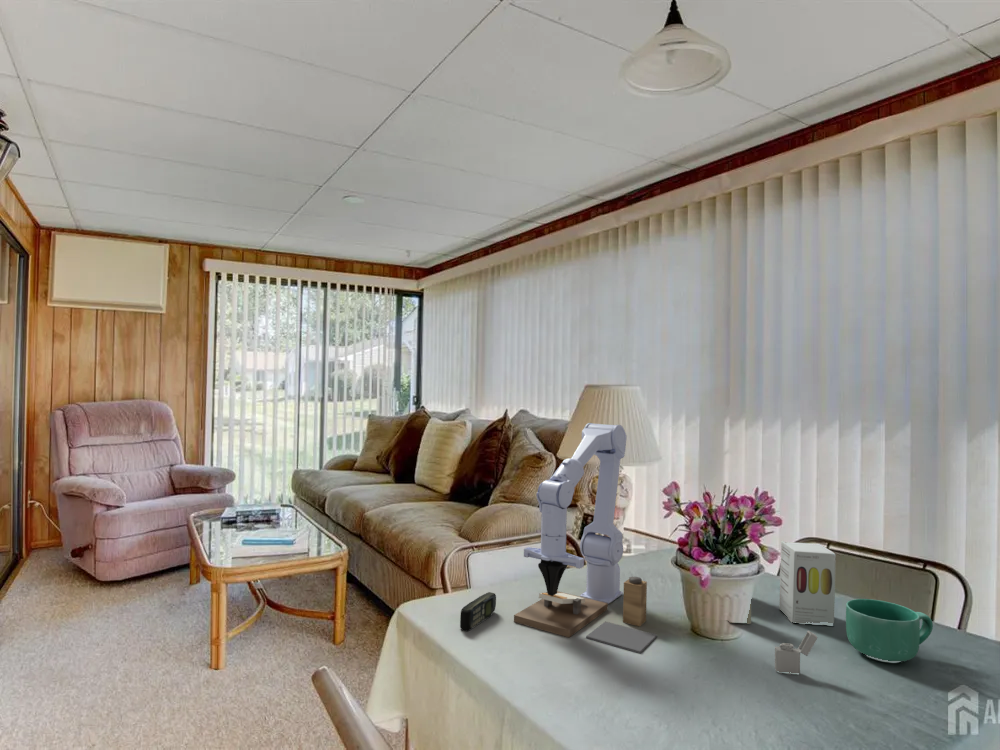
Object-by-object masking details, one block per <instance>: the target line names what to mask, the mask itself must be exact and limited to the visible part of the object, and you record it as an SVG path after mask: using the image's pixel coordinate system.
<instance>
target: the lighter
mask: <svg viewBox="0 0 1000 750" xmlns="http://www.w3.org/2000/svg"><path fill="white" fill-rule="evenodd" d="M817 639H818V636H817V635H816V634H815V633H813V632H812V631H810V630H807V632H806V634H805V635H804V637H803V638H802V640H801V642H800V644H799V646H798V648H794V644H793V643H785V642H782V643H780V644H779V646H774V670H775V669H776V671H779V672H789V673H790V672H791V673H800V674H801V654H802V655H804V656H806V657H808V656H809V654H810V652H811V651H812V649H813V647H814V645H815V644H816V642H817ZM776 671H775V672H776Z"/></svg>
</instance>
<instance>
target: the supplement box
mask: <svg viewBox="0 0 1000 750" xmlns="http://www.w3.org/2000/svg"><path fill="white" fill-rule="evenodd" d="M836 556H837V555H836V553H834V551H832V550H830V549H829V548H827V547H825V546H824V545H822V544H821V543H808V542H791V541H781V542H780V569H779V570H780V574H779V601H778V602H779V605H778V607H779V608H778V609H779V611H780V610H781V611H782V612H783V613H784V614H785V615H786V616H787V617H788V618H787V617H786V616H785V615H784V614H783V613H782V612H781V611H780V612H781V613H782V614H783V615H784V616H785V617H786V618H787V619H788V620H789V622H790V623H792V622H794V623H795V622H796V623H806V622H807V623H808V622H810V623H812V622H813V623H820V622H828V623H834V624H835V603H836V602H835V600H836V599H835V598H836V597H835V595H836V594H835V593H836V563H837V561H836V560H837V559H836V558H837V557H836Z"/></svg>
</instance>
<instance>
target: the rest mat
mask: <svg viewBox="0 0 1000 750" xmlns="http://www.w3.org/2000/svg"><path fill="white" fill-rule="evenodd" d="M657 637H658V634H656V633H652V632H648V631H644V630H640V629H636V628H632V627H628V626H625V625H620V624H617V623H613V622H610V621H604V622H603V623H601V624H600V625H599V626H598V627H596V628H595V629H593V630H592V631H591V632H590V633H588V634H587V635H586V636H585V638H586V639H588V640H590V641H594V642H598V643H599V642H600V643H601V644H605V645H610V646H612V647H616V648H620V649H623V650H627V651H631V652H634V653H638V654H641V653H642V652H643V651H644V650H646V648H647V647H648V646H649V645H650V644H651V643H652V642H653V641H654V640H655V639H656V638H657Z"/></svg>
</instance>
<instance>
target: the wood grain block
mask: <svg viewBox="0 0 1000 750" xmlns="http://www.w3.org/2000/svg"><path fill="white" fill-rule="evenodd" d="M647 587H648V582H647V581H646V580H643V579H642V578H641V577H638V576H630V577H628V579H627V580H625V581H624V582H623V598H622V599H623V600H622V601H623V604H622V612H623V613H622V623H625V624H629V625H633V626H635V627H641V626H642V625H643V624H644V623H646V622H647V601H648V600H647V593H648V592H647V591H648V588H647Z"/></svg>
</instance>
